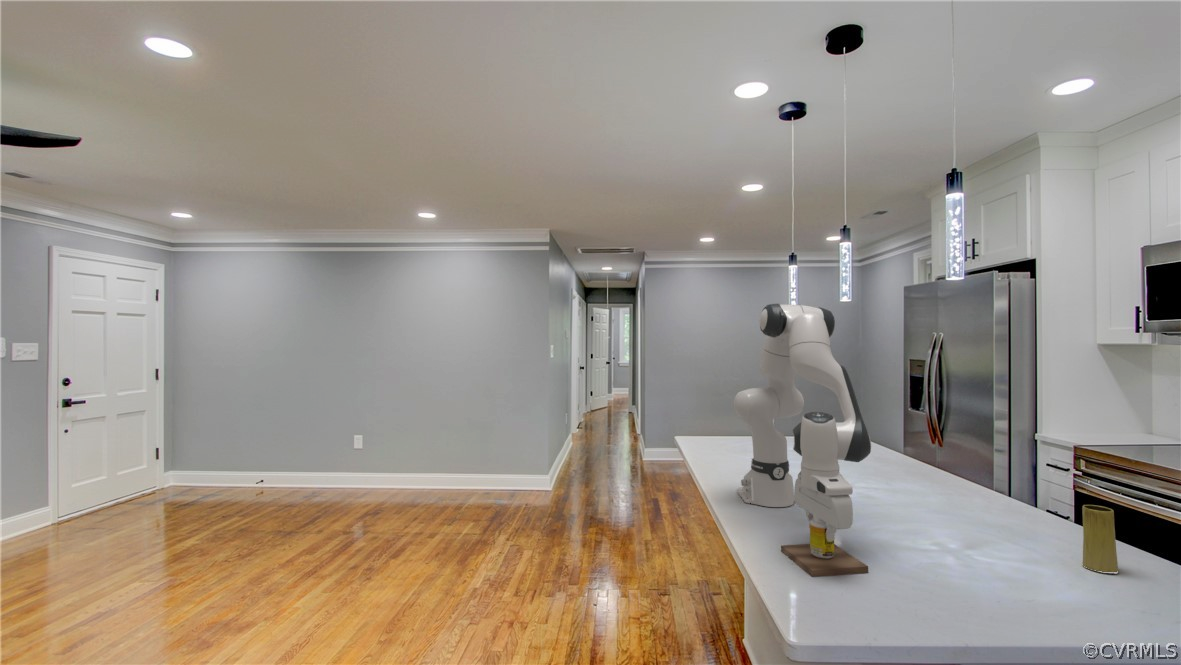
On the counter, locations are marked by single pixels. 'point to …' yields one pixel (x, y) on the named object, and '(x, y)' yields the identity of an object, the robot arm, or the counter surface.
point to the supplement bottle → (820, 539)
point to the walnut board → (824, 561)
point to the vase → (1099, 539)
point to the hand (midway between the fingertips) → (821, 534)
